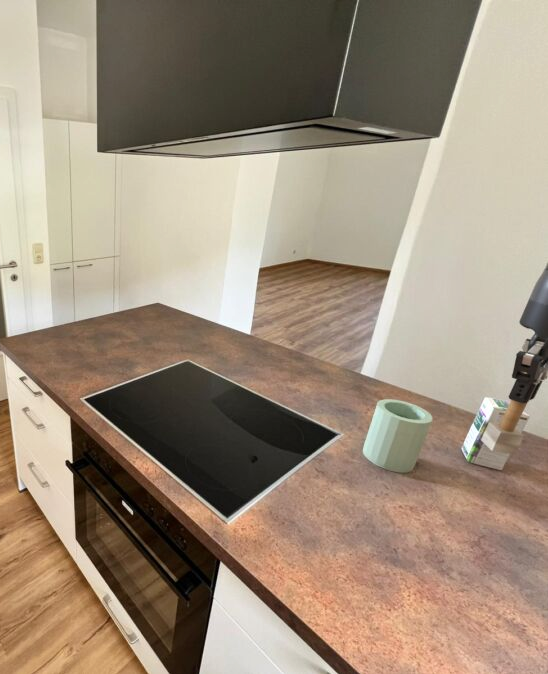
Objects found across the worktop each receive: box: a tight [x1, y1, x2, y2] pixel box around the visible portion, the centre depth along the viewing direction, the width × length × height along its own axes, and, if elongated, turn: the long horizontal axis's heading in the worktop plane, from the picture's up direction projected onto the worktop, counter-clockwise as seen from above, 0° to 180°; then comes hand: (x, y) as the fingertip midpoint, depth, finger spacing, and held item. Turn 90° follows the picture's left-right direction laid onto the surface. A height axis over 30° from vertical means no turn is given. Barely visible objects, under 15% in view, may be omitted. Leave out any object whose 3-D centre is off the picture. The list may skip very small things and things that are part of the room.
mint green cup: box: [362, 398, 434, 474], centre depth 81 cm, size 9×9×13 cm
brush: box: [481, 372, 531, 455], centre depth 62 cm, size 3×3×15 cm
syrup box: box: [460, 397, 531, 471], centre depth 80 cm, size 6×6×14 cm
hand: (520, 398), depth 61 cm, fingers closed on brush, 2 cm apart
